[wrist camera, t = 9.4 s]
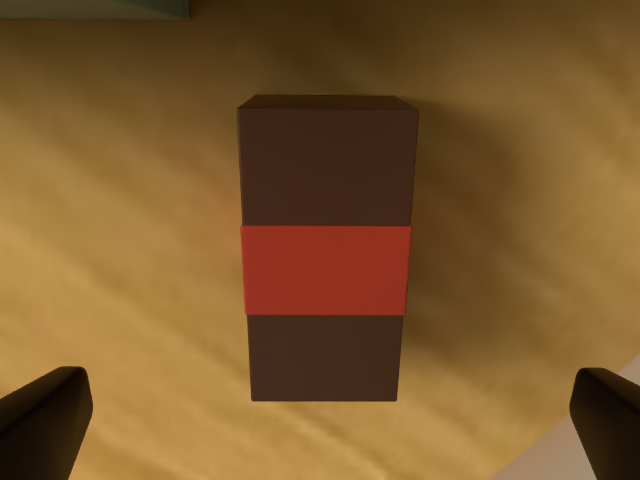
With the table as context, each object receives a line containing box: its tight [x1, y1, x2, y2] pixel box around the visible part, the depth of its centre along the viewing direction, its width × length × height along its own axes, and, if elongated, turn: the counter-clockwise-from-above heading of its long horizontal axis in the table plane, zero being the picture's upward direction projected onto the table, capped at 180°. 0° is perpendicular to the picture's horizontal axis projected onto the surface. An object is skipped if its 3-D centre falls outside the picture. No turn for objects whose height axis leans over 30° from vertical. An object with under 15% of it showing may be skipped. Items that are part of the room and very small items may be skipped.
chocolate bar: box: [237, 95, 419, 401], centre depth 16 cm, size 5×9×4 cm, turn 0°
